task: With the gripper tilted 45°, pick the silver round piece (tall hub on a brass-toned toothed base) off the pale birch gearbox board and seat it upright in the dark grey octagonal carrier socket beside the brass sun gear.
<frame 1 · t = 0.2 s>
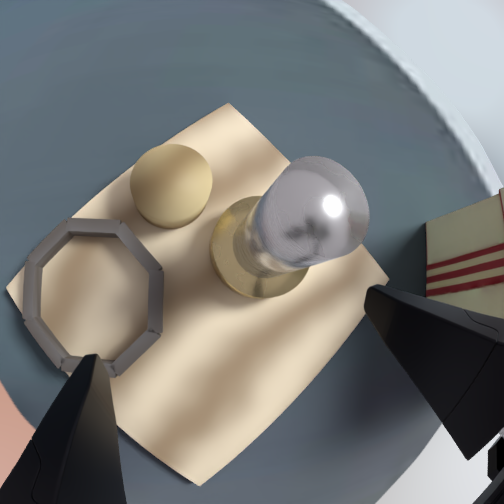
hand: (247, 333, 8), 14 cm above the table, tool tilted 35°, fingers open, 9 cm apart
gearbox board: (205, 290, 22), on the table
silver round piece: (257, 250, 23), point 1 cm above the table, touching gearbox board
gift box: (450, 290, 30), on the table
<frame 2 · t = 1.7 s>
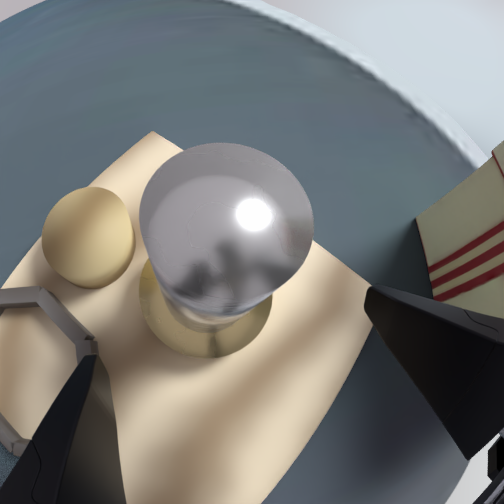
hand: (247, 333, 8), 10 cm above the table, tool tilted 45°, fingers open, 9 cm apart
gearbox board: (151, 355, 16), on the table
silver round piece: (204, 297, 18), point 1 cm above the table, touching gearbox board
gift box: (461, 288, 25), on the table
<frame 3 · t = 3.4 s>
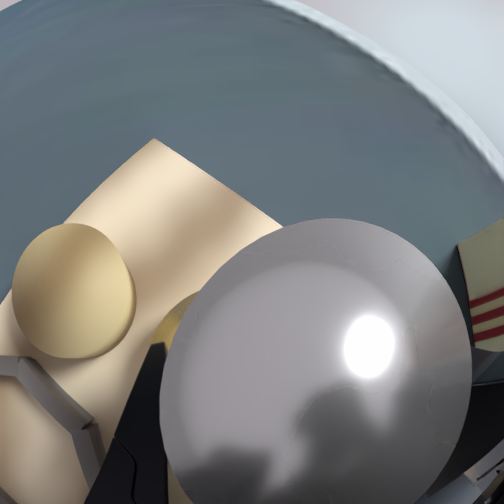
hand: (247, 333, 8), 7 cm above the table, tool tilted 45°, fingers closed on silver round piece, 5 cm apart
gearbox board: (166, 435, 12), on the table
silver round piece: (231, 369, 13), point 1 cm above the table, touching gearbox board, gripper
gift box: (496, 319, 20), on the table
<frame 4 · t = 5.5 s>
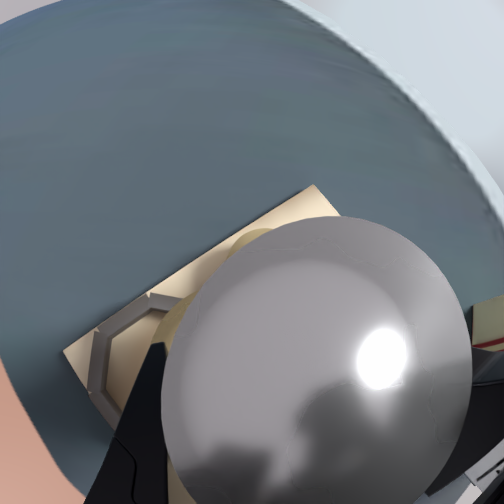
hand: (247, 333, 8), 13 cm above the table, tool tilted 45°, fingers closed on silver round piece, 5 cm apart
gearbox board: (287, 376, 21), on the table
silver round piece: (231, 368, 13), point 8 cm above the table, touching gripper
gift box: (487, 366, 26), on the table
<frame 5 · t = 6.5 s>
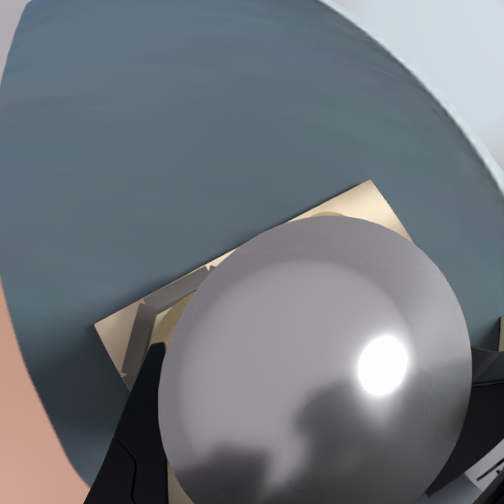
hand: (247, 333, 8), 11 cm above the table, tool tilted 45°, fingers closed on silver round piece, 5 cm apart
gearbox board: (339, 369, 19), on the table
silver round piece: (231, 368, 13), point 5 cm above the table, touching gripper
when the fingers open (8 cm above the table, at t = 7.5 s): silver round piece drops 1 cm, resting on gearbox board.
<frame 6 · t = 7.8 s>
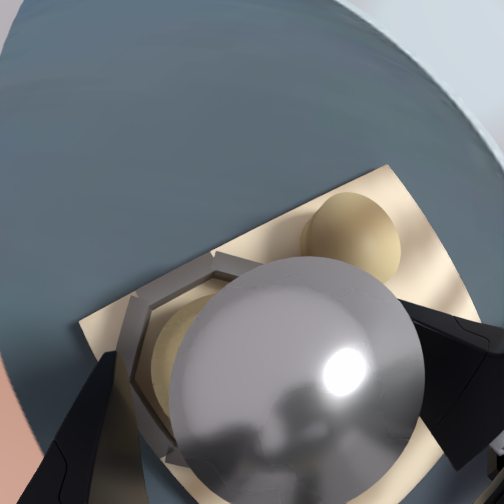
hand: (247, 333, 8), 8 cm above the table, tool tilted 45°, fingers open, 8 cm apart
gearbox board: (362, 372, 17), on the table
silver round piece: (228, 369, 14), point 1 cm above the table, touching gearbox board
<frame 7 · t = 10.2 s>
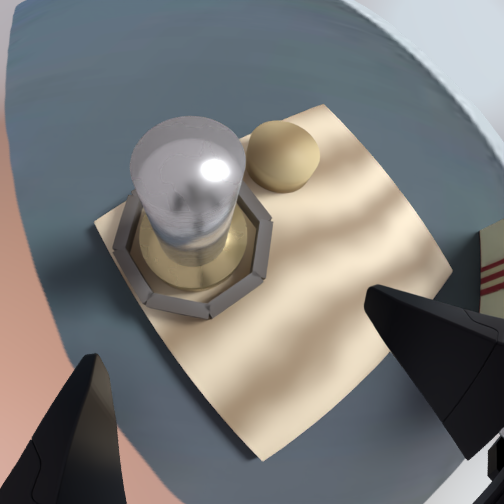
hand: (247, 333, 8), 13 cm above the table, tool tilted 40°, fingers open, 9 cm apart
gearbox board: (302, 252, 24), on the table
silver round piece: (193, 241, 21), point 1 cm above the table, touching gearbox board
gift box: (499, 296, 27), on the table
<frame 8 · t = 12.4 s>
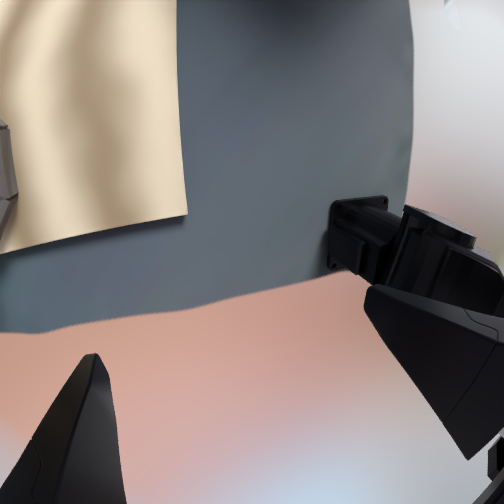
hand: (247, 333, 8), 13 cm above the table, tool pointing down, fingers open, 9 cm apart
gearbox board: (13, 64, 10), on the table
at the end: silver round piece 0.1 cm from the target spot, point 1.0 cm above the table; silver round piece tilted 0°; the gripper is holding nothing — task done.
